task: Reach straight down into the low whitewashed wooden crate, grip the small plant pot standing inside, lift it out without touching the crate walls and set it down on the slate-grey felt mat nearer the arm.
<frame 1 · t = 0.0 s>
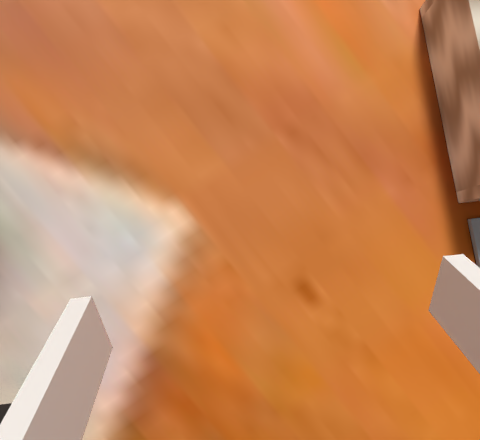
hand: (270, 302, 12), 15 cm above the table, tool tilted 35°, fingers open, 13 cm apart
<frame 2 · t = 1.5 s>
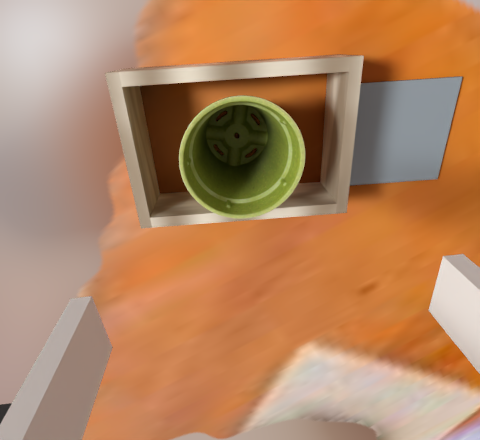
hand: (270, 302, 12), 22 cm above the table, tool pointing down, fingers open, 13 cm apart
mat: (397, 134, 32), on the table
crate: (237, 135, 32), on the table
plant pot: (237, 134, 32), resting in crate
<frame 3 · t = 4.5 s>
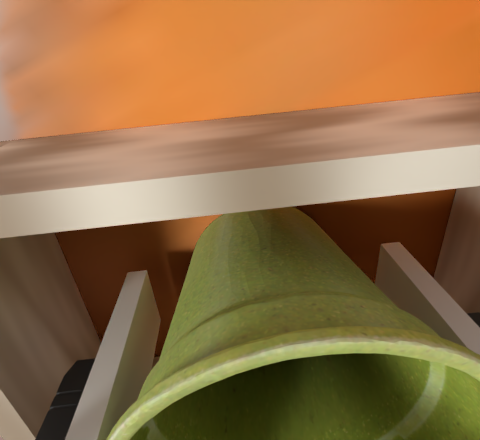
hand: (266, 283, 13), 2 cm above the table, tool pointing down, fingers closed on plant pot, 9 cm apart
crate: (261, 261, 15), on the table
plant pot: (260, 258, 15), resting in crate, touching gripper
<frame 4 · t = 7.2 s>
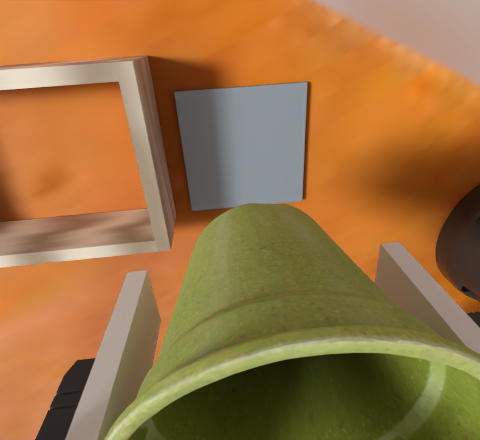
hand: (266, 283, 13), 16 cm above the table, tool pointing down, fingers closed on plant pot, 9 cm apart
mat: (244, 150, 27), on the table
crate: (43, 155, 26), on the table
plant pot: (260, 257, 15), point 14 cm above the table, touching gripper
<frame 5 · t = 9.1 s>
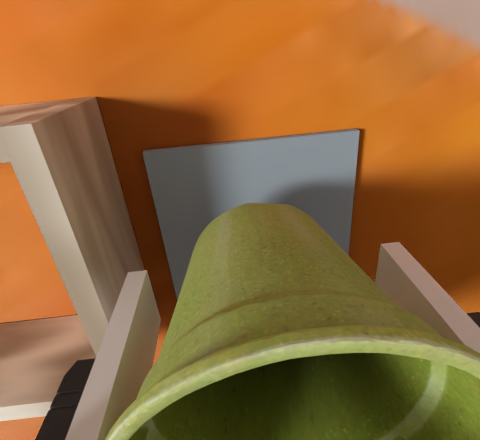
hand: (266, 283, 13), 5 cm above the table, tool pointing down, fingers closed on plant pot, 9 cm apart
mat: (257, 231, 18), on the table
plant pot: (260, 257, 15), point 3 cm above the table, touching gripper
when the fingers open (2 cm above the table, at t = 10.4 s): plant pot stays where it is, resting on mat.
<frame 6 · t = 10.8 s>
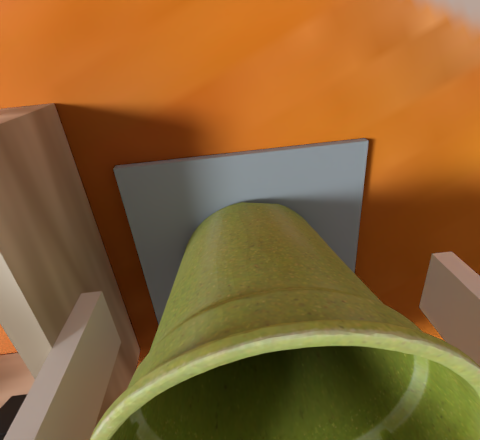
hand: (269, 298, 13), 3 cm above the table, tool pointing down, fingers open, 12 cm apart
mat: (250, 254, 15), on the table
plant pot: (252, 256, 15), resting on mat
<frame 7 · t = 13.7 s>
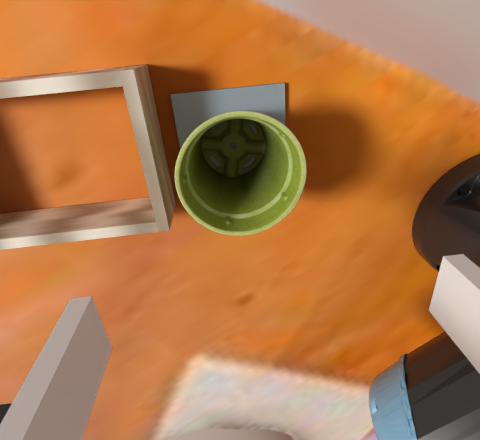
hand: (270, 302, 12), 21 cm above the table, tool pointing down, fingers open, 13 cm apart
mat: (233, 144, 31), on the table
crate: (60, 151, 30), on the table
plant pot: (233, 144, 31), resting on mat
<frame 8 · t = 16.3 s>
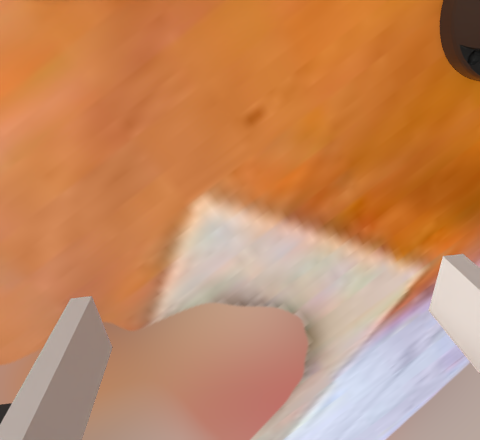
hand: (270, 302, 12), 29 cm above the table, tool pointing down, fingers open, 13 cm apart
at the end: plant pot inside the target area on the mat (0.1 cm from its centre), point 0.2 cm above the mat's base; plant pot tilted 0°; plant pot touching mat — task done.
